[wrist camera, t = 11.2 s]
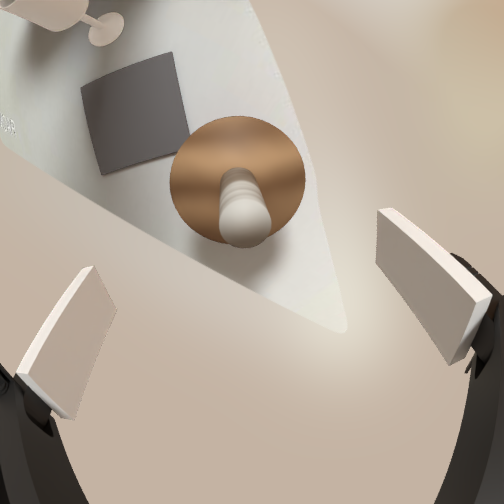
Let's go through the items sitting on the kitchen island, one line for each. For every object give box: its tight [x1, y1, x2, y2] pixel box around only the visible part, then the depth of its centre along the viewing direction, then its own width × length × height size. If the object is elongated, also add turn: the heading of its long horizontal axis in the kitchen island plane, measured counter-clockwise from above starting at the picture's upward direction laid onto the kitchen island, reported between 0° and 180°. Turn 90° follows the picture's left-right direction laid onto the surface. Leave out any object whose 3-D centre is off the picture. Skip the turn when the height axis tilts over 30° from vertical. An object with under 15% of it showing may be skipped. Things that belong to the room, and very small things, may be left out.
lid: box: [170, 116, 305, 248], centre depth 26 cm, size 15×15×11 cm
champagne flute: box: [0, 0, 124, 47], centre depth 17 cm, size 7×7×24 cm
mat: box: [81, 52, 190, 175], centre depth 36 cm, size 16×16×1 cm
